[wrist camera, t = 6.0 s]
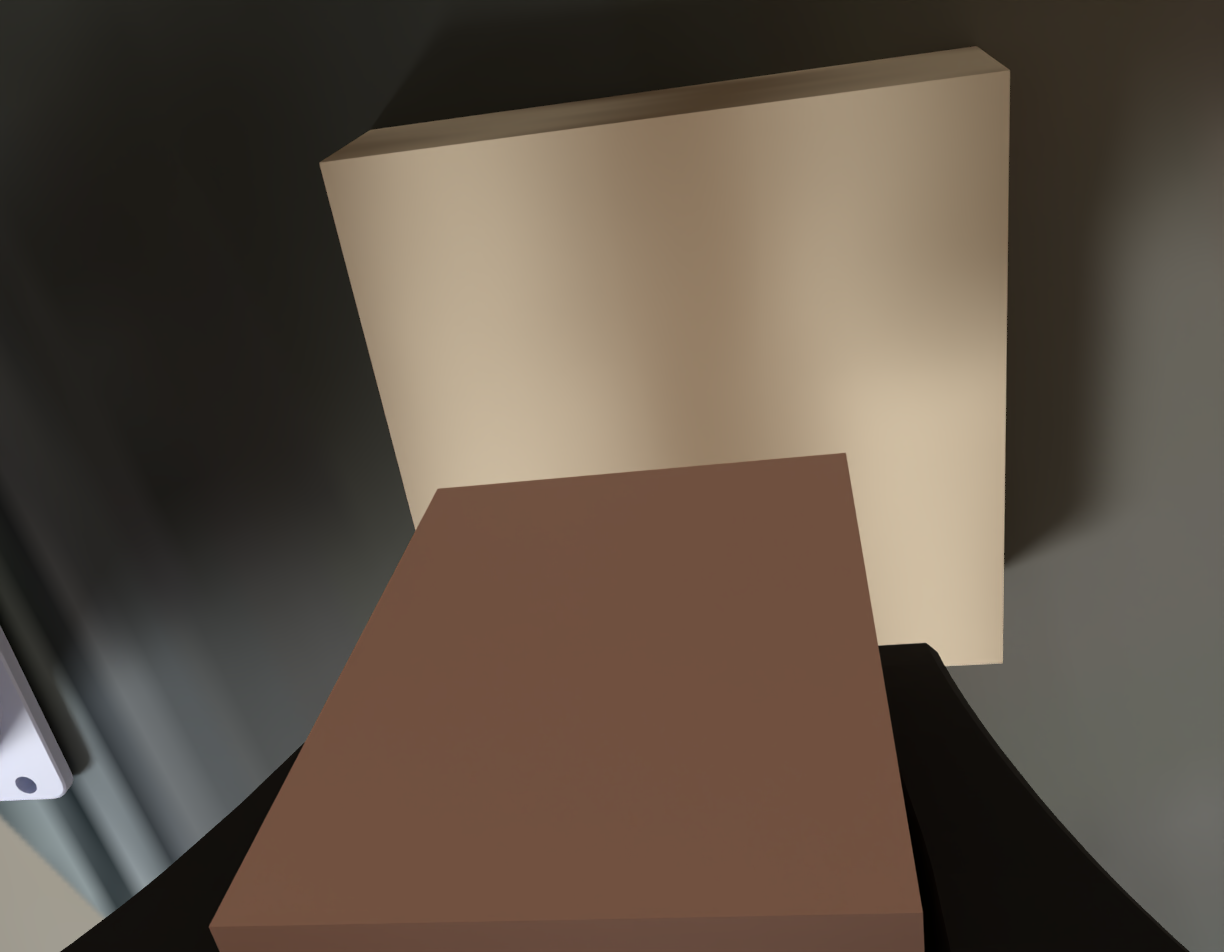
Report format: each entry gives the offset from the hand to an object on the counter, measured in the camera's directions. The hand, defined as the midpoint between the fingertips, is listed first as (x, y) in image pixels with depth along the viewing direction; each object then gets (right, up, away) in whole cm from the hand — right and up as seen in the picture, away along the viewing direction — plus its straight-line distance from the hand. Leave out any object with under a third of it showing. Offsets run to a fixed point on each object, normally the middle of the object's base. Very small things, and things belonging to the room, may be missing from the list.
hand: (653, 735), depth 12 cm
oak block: (+1, +5, +9) cm, 10 cm away
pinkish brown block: (0, +1, +1) cm, 2 cm away
